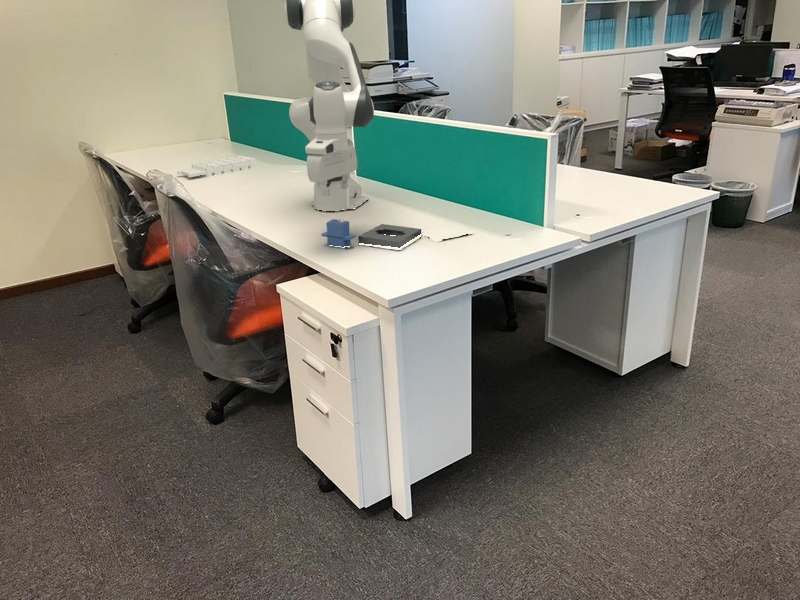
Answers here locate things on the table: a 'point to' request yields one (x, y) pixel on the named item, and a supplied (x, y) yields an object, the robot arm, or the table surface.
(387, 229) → the plate
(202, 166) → the organizer
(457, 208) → the table surface
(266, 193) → the table surface
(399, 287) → the table surface
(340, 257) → the table surface
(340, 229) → the block
